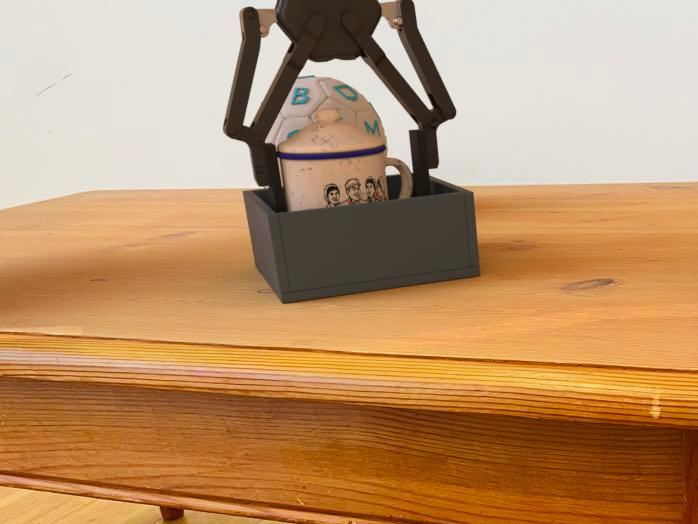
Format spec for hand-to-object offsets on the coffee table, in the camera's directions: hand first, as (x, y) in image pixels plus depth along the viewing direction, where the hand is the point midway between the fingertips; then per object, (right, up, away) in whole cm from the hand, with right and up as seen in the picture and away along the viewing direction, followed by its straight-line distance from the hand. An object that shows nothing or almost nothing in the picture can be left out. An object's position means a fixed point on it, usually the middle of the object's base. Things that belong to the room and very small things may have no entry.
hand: (354, 217), depth 93 cm
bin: (0, -4, +2) cm, 5 cm away
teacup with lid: (0, -3, +1) cm, 3 cm away
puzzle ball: (-8, +9, +30) cm, 32 cm away
